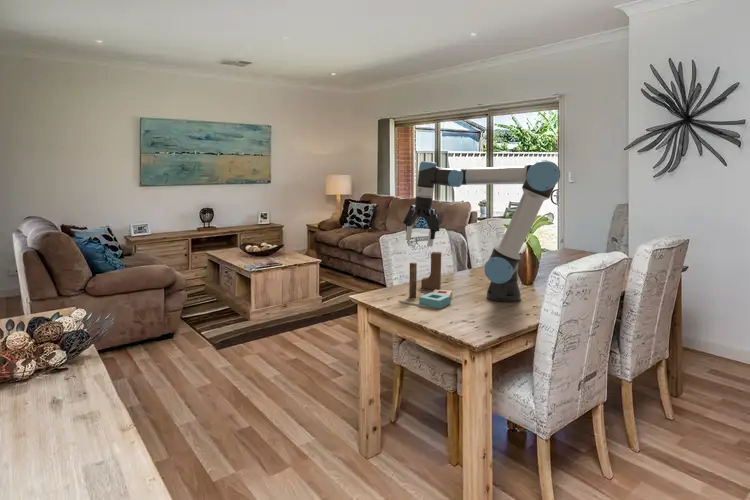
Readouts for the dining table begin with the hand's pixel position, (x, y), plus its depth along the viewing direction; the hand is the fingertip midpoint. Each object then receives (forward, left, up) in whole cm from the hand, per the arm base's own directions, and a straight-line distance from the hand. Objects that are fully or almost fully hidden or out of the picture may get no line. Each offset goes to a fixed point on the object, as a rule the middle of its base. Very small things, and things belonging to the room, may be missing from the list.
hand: (418, 243), depth 224 cm
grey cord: (-5, +12, -25) cm, 28 cm away
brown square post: (+1, +2, -25) cm, 25 cm away
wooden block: (+3, -18, -25) cm, 31 cm away
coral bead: (-11, -4, -25) cm, 28 cm away
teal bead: (-13, +6, -25) cm, 29 cm away
